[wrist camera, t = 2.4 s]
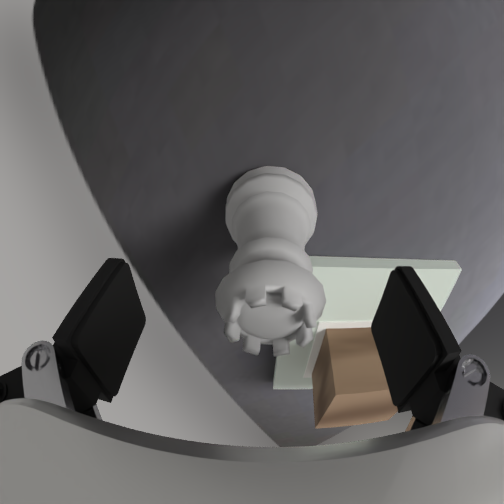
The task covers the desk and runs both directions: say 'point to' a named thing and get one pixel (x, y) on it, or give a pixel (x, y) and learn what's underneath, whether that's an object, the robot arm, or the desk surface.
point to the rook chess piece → (270, 262)
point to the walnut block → (350, 380)
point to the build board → (355, 304)
